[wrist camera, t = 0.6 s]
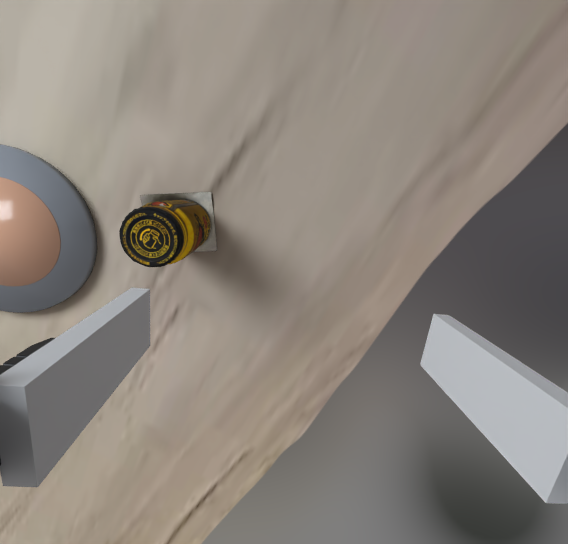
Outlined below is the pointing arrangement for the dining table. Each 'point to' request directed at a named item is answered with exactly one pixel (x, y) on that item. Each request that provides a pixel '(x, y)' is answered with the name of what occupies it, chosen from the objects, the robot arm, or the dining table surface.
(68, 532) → the dining table surface
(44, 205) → the ring stand
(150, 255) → the condiment
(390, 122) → the dining table surface
